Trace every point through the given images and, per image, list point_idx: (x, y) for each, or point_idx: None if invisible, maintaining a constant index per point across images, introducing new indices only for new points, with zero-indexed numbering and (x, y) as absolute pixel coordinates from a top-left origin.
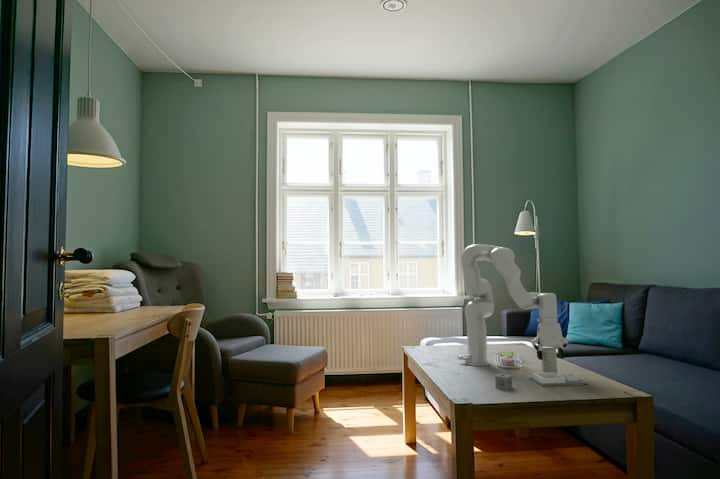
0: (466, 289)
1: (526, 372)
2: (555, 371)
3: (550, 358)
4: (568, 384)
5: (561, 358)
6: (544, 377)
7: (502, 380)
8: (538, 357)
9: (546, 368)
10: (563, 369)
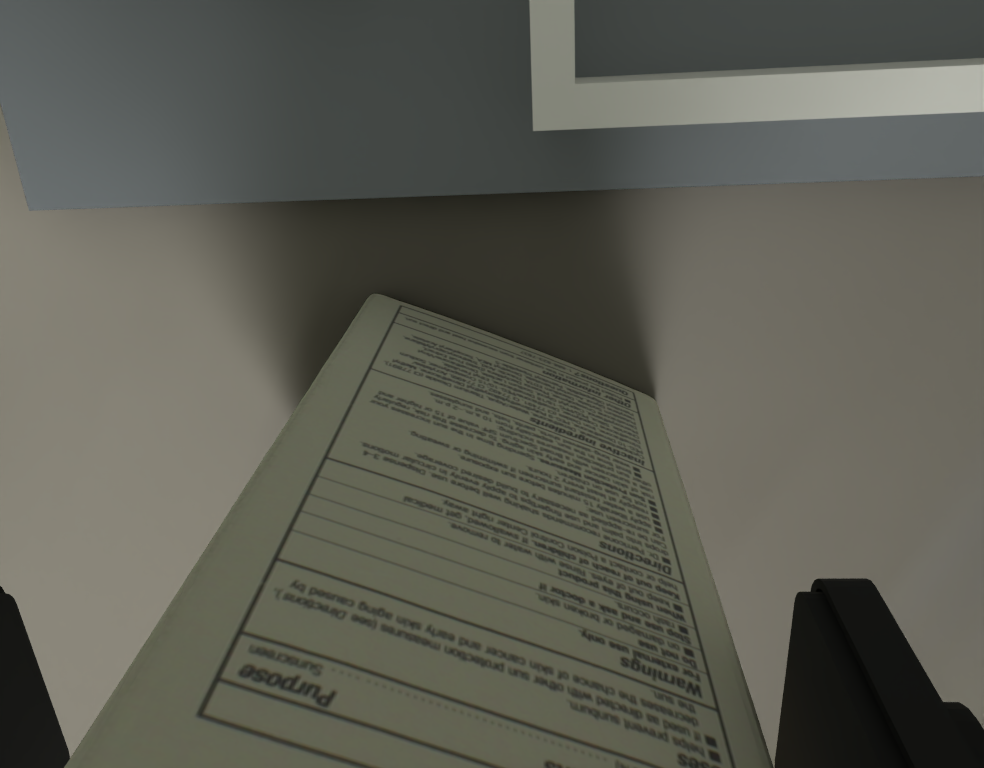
0: None
1: None
2: (390, 342)
3: (460, 586)
4: None
5: (6, 595)
6: (831, 64)
7: None
8: (957, 704)
9: (598, 448)
10: None
